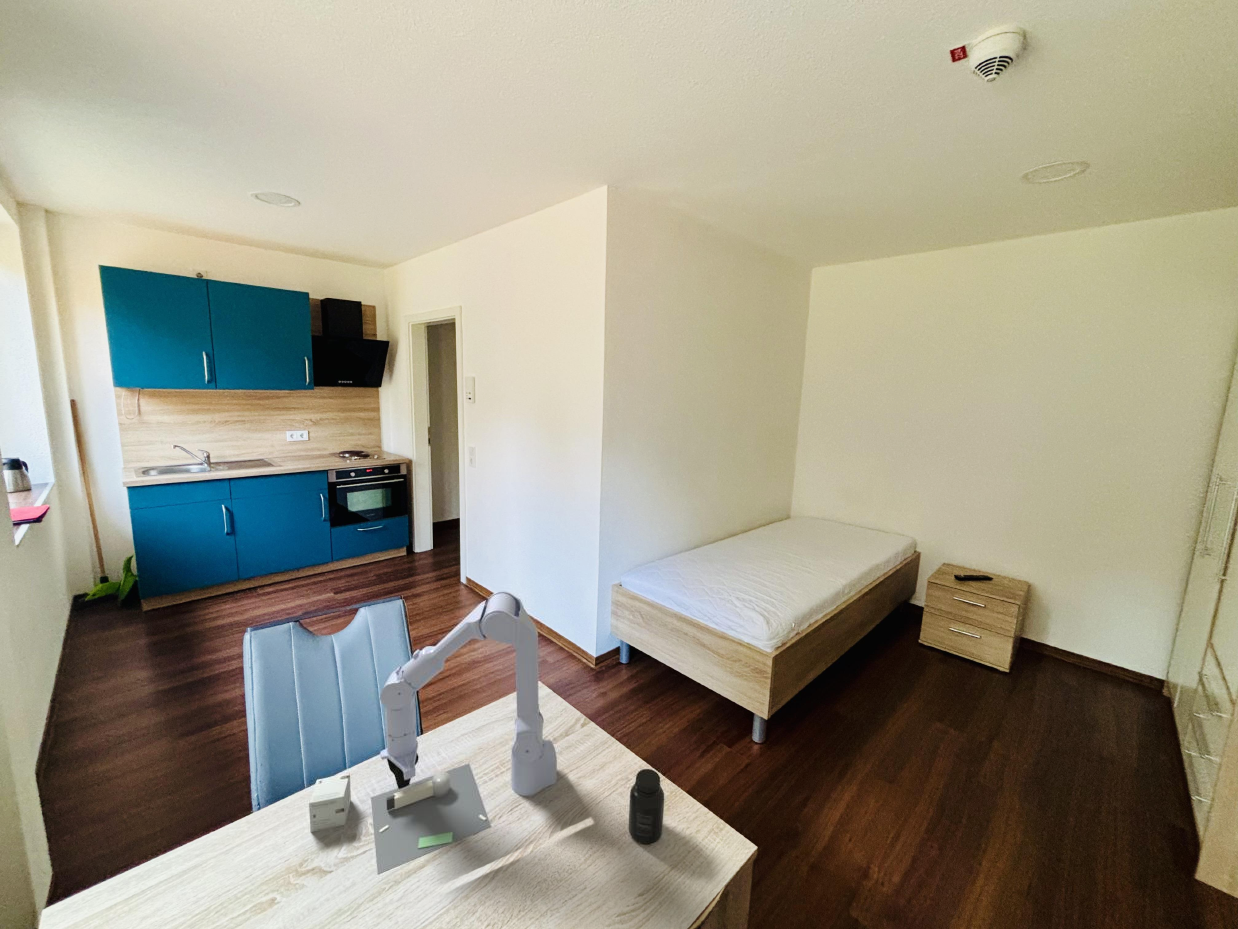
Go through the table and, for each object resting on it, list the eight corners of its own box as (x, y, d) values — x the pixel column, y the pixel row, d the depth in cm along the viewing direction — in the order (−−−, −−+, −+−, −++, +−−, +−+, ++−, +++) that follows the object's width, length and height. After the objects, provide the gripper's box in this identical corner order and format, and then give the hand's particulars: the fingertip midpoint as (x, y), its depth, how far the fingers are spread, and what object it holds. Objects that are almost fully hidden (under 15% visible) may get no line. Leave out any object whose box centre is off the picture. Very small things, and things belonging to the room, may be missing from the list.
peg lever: (448, 782, 106) (448, 769, 105) (451, 794, 103) (451, 782, 102) (386, 804, 100) (385, 791, 99) (387, 818, 97) (387, 805, 96)
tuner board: (469, 767, 111) (469, 762, 111) (491, 831, 96) (491, 825, 96) (371, 801, 101) (370, 796, 101) (377, 879, 86) (377, 873, 86)
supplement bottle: (669, 831, 98) (673, 778, 96) (647, 854, 93) (650, 799, 91) (643, 809, 102) (646, 759, 100) (620, 830, 97) (623, 777, 95)
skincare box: (310, 837, 93) (307, 803, 92) (318, 810, 99) (316, 778, 98) (346, 829, 95) (344, 796, 94) (352, 803, 101) (350, 772, 99)
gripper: (373, 714, 104) (376, 770, 107) (386, 758, 93) (389, 820, 95) (409, 703, 108) (410, 757, 111) (425, 744, 97) (427, 803, 99)
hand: (403, 785), depth 103 cm, fingers closed
